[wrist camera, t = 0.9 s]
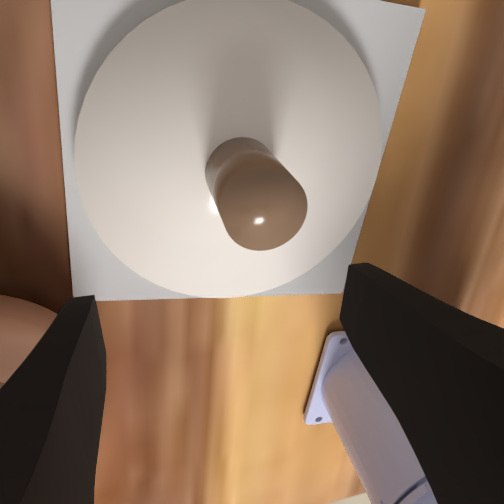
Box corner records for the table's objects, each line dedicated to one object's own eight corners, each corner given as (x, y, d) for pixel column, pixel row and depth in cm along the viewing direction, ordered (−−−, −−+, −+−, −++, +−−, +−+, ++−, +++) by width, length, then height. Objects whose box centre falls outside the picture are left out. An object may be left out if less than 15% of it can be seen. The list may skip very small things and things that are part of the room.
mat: (418, 8, 18) (425, 9, 17) (338, 288, 24) (342, 293, 24) (48, -62, 14) (45, -64, 13) (74, 295, 20) (73, 301, 20)
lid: (411, 21, 17) (496, 29, 13) (336, 285, 24) (378, 345, 20) (64, -41, 14) (38, -56, 10) (84, 292, 20) (73, 366, 16)
